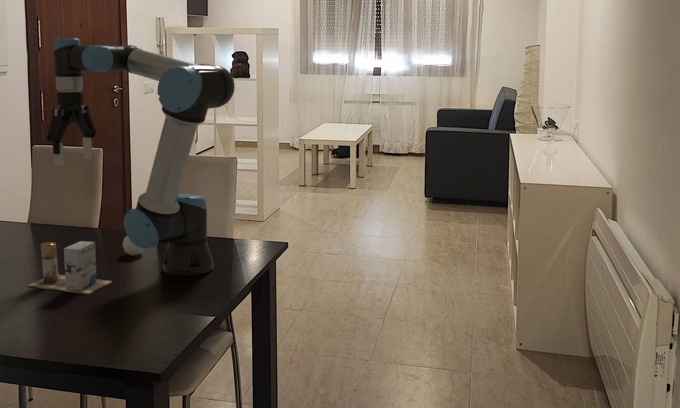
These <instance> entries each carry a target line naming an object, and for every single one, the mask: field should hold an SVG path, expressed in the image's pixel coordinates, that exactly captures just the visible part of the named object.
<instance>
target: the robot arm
mask: <svg viewBox="0 0 680 408" xmlns="http://www.w3.org/2000/svg"><path fill="white" fill-rule="evenodd" d="M52 53H53V61H54V62H53V63H54V74H55V88H56V89H55V90H56V94H55V95H56V103H57V105H59V106H60V107H59V108H52V112H51V113H52V117H51V121H50V124H49V129H48V132H47V137H46V141H47V142H48V143H50V144H52V153H53V155H54V157H53V158H54V165H55V166H65V158H64V156H65V155H64V143H63V142H62V140H63V137H64V135H65V133H66V131H67V128H68V126H69V125H71V124H72V123H73V124H74V123H75V124H76V126H77V128H78V129H79V130H80V132H81V133H82V135H83V136H84V137H82V151H83V152H82V153H83V159H85V160H86V159H87V160H88V159H89V160H92V159H93V138H95V137H96V135H97V130H96V127H95V124H94V122H93V120H92V117H91V114H90V109H89V106H88V105H83V104H84V103H85V100H84V98H85V97H84V92H83V90H84V84H83V83H84V82H83V72H89V73H91V72H92V73H105V72H124V73H125V72H126V73H130V74H133V75H137V76H140V77H144V78H147V79H150V80H154V81H157V82H158V84H157V95H158V96H159V97H158V101H159V104H160V105H161V111H162V113H163V115H164V116H165V118H164V122H163V125H162V130H161V132H160V137H159V140H158V141H159V142H158V144H157V148H156V153H155V155H154V161H153V164H152V168H151V171H150V175H149V178H148V183H147V187H146V191H145V192H143V193H141V194H140V195H139V196H138V199H137V202H136V207H135V208H132V209H130V210H128V211H126V213H125V215H124V218H123V227H124V231H125V233H126V235H127V236H128V238H129V239H130V241H131V242H132V243H133V244H134V245H136V246H137V247H139V248H144V250H145V249H150V248H155V247H157V246H160V245H163V244H167V248H166V252H165V255H164V259H163V261H162V270H163V272H164V273H165V274H168V275H171V276H178V277H187V276H188V277H191V276H192V277H193V276H199V275H203V274H207V273H209V272H211V271H213V270H214V268H215V266H214V259H213V256H212V254H211V251H210V248H209V245H208V227H207V226H208V220H207V219H208V214H207V213H208V212H207V210H208V208H207V201H206V198H205V197H204V196H202V195H198V194H191V193H179V192H180V188H181V185H182V182H183V177H184V174H185V171H186V166H187V163H188V159H189V156H190V152H191V149H192V145H193V142H194V138H195V135H196V131H197V127H198V126H199V125H201V124H203V123H204V122H205V120H206V116H207V113H208V111H209V110H210V109H215V108H216V109H217V108H220V107H223V106H225V105H227V103H228V102H229V101H231V99H232V98H233V95H234V93H235V90H236V89H235V80H234V77H233V75H232V74H231V73H230V71H229V70H227V69H226V68H225V67H224V66H221V65H217V64H210V63H207V62H202V63H199V64H196V63H193V62H188V61H185V60H182V59H181V60H180V59H177V58H174V57H171V56H170V57H169V56H166V55H162V54H159V53H155V52H150V51H147V50H143V48H141V47H140V46H139V45H138V46H137V45H132V44H128V45H106V44H105V45H104V44H103V45H101V44H90V45H89V44H87V45H86V44H85V45H84V44H83V45H82V44H81V41H80V39H79V38H77V37H75V38H73V37H72V38H71V37H56V38H55V39H54V40H53V51H52ZM127 236H126V237H127ZM212 269H213V270H212Z"/></svg>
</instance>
